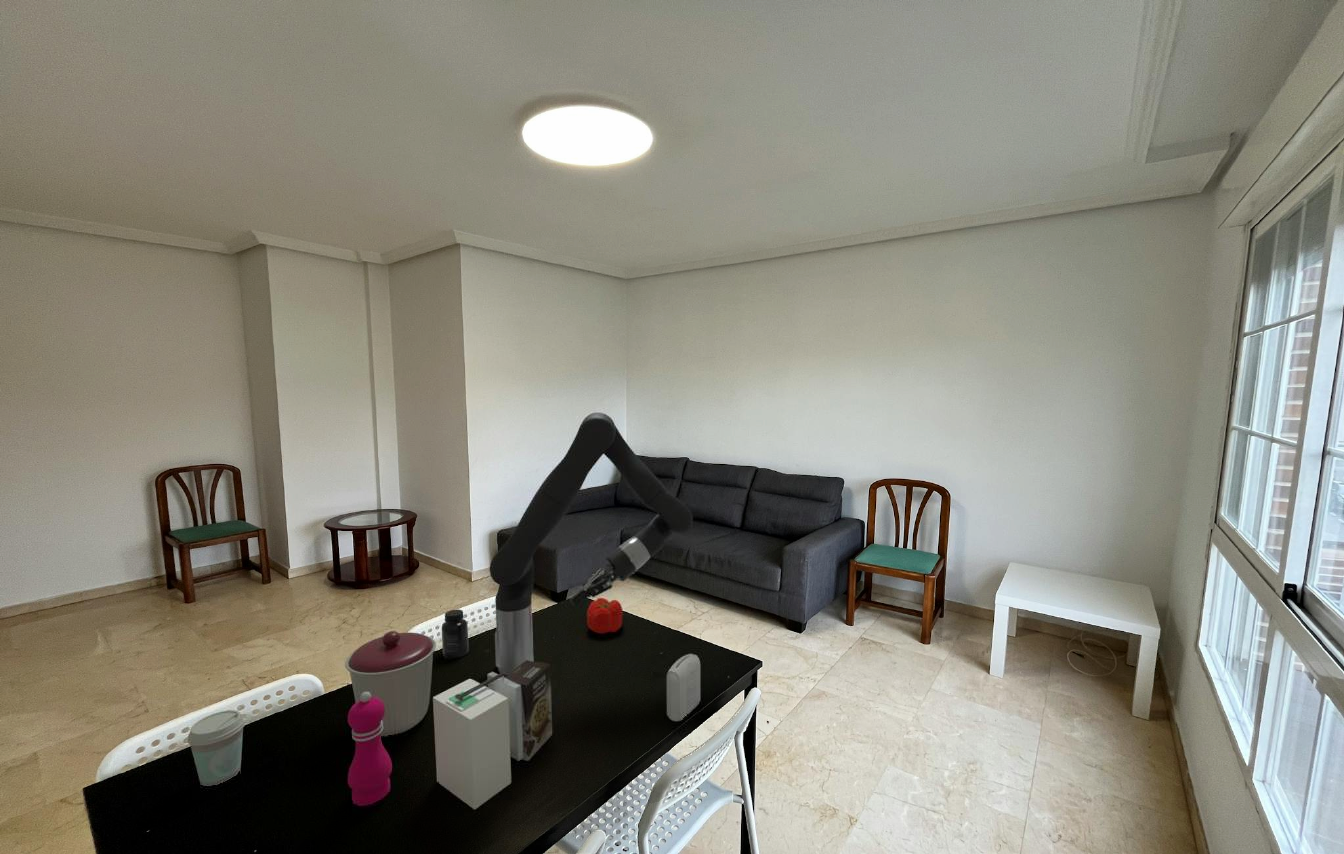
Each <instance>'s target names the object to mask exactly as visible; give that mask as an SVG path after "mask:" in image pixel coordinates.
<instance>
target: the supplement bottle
mask: <svg viewBox="0 0 1344 854" xmlns="http://www.w3.org/2000/svg"><path fill="white" fill-rule="evenodd" d="M441 643H442V646H441V647H442V655H443V657H444V658H445V659H449V660H452V659H453V660H454V659H455V658H456V659H459V657H460V658H463V657H465V656H466V655H467V653H469V650H470V649H469V630H468V621H467V620H466V619H464V611H463V609H458V608H457V609H451V610H450V609H449V611H448V610H447V611H446V612H445V613H444V622H443V624H442V625H441ZM456 659H455V660H456Z"/></svg>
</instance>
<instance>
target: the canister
mask: <svg viewBox="0 0 1344 854" xmlns="http://www.w3.org/2000/svg"><path fill="white" fill-rule="evenodd" d="M436 647H437V643H436V641H435V639H433V637H431V636H429V635H426V634H421V633H418V632H398V631H396V630H395V631H394V630H391V631H388V632H386V633H384V634H383V636H380V637H377V638H374V639H372V640H370V641H368V642H365V643H364V644H362V645H361V646H359V647H358V648H357V649H355V650H353V651H352V652H351V653H350V654H349V655H348V656H347V657H346V660H345V661H344V663H345V664H344V666H345V668H346V670H347V671H348V672H349V675H350V681H351V686H352V689H353V690H352V691H353V695H354V701H355V703H356V702H358V701H359V700H360V696H361V694H362V693H364V692H369V693H370V694H371V697H376V698H378V699H380V700H381V701H382V702H383V703H384V706H385V715H384V717H383V719H382V721H383V730H382V732H381V737H383V736H384V737H389V736H388V735H393V736H395V735H394V734H396V735H398V733H399V734H402V733H405V732H407V731H408V730H411V729H412V728H414V727H415V726H417V725H418V724H419V723H420V722H421V721H423V719H424V718H425V715H427V712H428V709H429V704H430V697H431V686H432V674H433V673H432V671H433V654H434V652H435V651H436Z"/></svg>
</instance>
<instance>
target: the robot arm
mask: <svg viewBox="0 0 1344 854" xmlns="http://www.w3.org/2000/svg"><path fill="white" fill-rule="evenodd" d="M603 455H604V456H605V457H607V459H608V460H609V461H610V462H611V463H612V464H613V466H614V467H615V468H616V469H617V471H618V472H619V473H620V475H621V477H622V478H623V479H624V481H625V483H626V484H627V485H628V487H629V488H630V489H631V490H632V492H633V493H634V495H636V496H637V498H638V499H639V500H640V501H641V502H642V504H644V506H646V507H647V508H648V509H649V510H652V511H654V512H655V513H656V515H655V516H654V518H652V519H651V521H650V522H649V523H648V524H647V525H646V526H645V527H643V528H642V529H640V531H638V532H637V533H635V535H633V536H632V537H629V539H627V540H626V541H624V542H623V543H622V544H620V546H618V547H616V549H614V550H613V551H611V553H609V554H608V555H607V556H605V563H606V566H605V567H603V568H599V569H597V571H596V572H595V571H592V572H591V573H590V574H589V576H588V577H587V578H586V580H585V581H584V582H583V584H581V589H580V590H579V591H578V592H576V594H574V595H573V596H572V597H571V598H570V599H569V602H570V603H571V604H572V605H573V606H574V607H576V608H577V607H578V606H580V605H581V604H582V603H584V602H585V601H586V600H587V599H588V598H595V597H597V596H599V595H601V594H603V593H605V592H607V591H608V590H611V589H612V588H613V584H614V581H616V580H619V581H620V582H625V581H626V580H627V579H628V578H630V576H632V575H633V574H634V573H636V572H637V571H638V570H639V569H640V568H641V567H642V566H644V565H645V564H646V563H647V561H649V560H650V558H652V557H653V556H655V555H656V554H657V553H658V552H659V551H661V550H662V549H663V548H664V546H665V545H666V540H667V539H668V538H670V536H672V535H673V534H675V533H676V534H684V533H687V532H688V531H690V529H691V528H692V526H693V524H694V523H693V522H694V519H693V514H692V512H691V511H690V509H689V508H688V507H687V506H686V505H685V504H684V503H683V502H682V501H681V500H679V498H677V496H676V495H673V494H672V493H671V492H670V491H669V490H668V489H667V488H666V487H665V485H664V484H663V483H662V482H661V481H660V480H659V478H658V477H657V476H656V475H655V474H654V473H653V472H652V470H650V469H649V467H648V466H647V465H646V464H645V463H644V462H643V461H642V460H641V459H640V458H639V457H638V455H637V454H636V453H635V451H633V449H631V446H630V445H628V443H627V441H626V440H625V439H624V437H623V436H622V434H621V432H620V431H619V429H618V428H617V425H615V423H614V420H613V419H612V418H611V416H609V415H607V414H606V413H604V412H592V413H590V414H588V415H587V416H586V417H585V418H584V419H583V420H582V422H581V424H580V426H579V428H578V430H577V432H576V436H575V437H574V439H573V441H572V442H571V445H570V446H569V449H568V450H567V452H566V453H565V455H564V457H563V459H561V461H560V462H559V463H558V464H557V465H556V466H555V467H554V468H553V469H552V471H550V473H549V474H548V475H547V476H546V478H545V479H544V480H543V481H542V484H541V485H540V486H539V487H538V489H537V491H536V492H535V494H534V496H533V497H532V499H531V500H530V503H529V504H528V506H527V507H526V509H525V511H524V512H523V514H522V516H521V517H520V520H519V522H518V524H517V526H516V528H515V529H514V530H513V532H512V534H511V535H510V536H509V537H508V539H506V542H505V543H503V545H502V546H501V548H499V550H498V551H497V552H496V553H495V555H494V556H492V558H491V561H490V564H489V573H490V577H491V579H492V581H493V582H494V583H495V584H497V585H498V589H497V592H496V595H495V601H494V602H495V603H494V604H495V623H496V624H495V625H496V629H495V630H496V631H495V632H494V644H495V645H494V647H495V648H494V649H495V667H497V670H498V672H499V674H500V673H502V674H503V676H507V675H509V674H510V673H511V672H512V671H514V670H515V669H516V668H517V667H518V666H520V665H521V664H522V663H523V662H525V661H526V660H528V661H533V662H534V639H533V637H534V636H533V612H532V611H533V610H532V609H533V607H532V606H533V605H532V596H533V592H534V558H533V556H534V554H535V552H536V550H538V548H539V546H540V545H541V543H543V541H544V540H545V539H546V538H547V537H548V536H549V535H550V534H551V532H552V531H553V530H554V529H555V527H557V526H558V524H559V523H560V522H561V520H562V519H563V518H564V516H566V513H567V512H568V511H569V509H570V507H571V506H572V504H573V503H574V501H575V500H576V498H577V496H578V494H579V492H580V490H581V489H582V486H583V484H584V482H585V480H586V478H587V476H588V474H589V473H590V472H591V470H592V469H593V468H594V466H596V464H597V462H598V461H599V460H600V459H601V457H602V456H603Z"/></svg>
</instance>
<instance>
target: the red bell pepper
mask: <svg viewBox="0 0 1344 854" xmlns="http://www.w3.org/2000/svg"><path fill="white" fill-rule="evenodd" d="M586 612H587V613H586V621H587V627H588V628H589V630H591V631H593V632H594V633H597V634H607V633H615V632H617V631H619V629H621V627H622V624H623V615H624V613H623V607H622V604H621V603H620V602H619V600H617V599H613V600H611V601H609V600H608V599H606V598H603V597H599V598H597V599H596V600H593V601H592V602H590V605H589V606H588V608H587V611H586Z"/></svg>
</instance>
